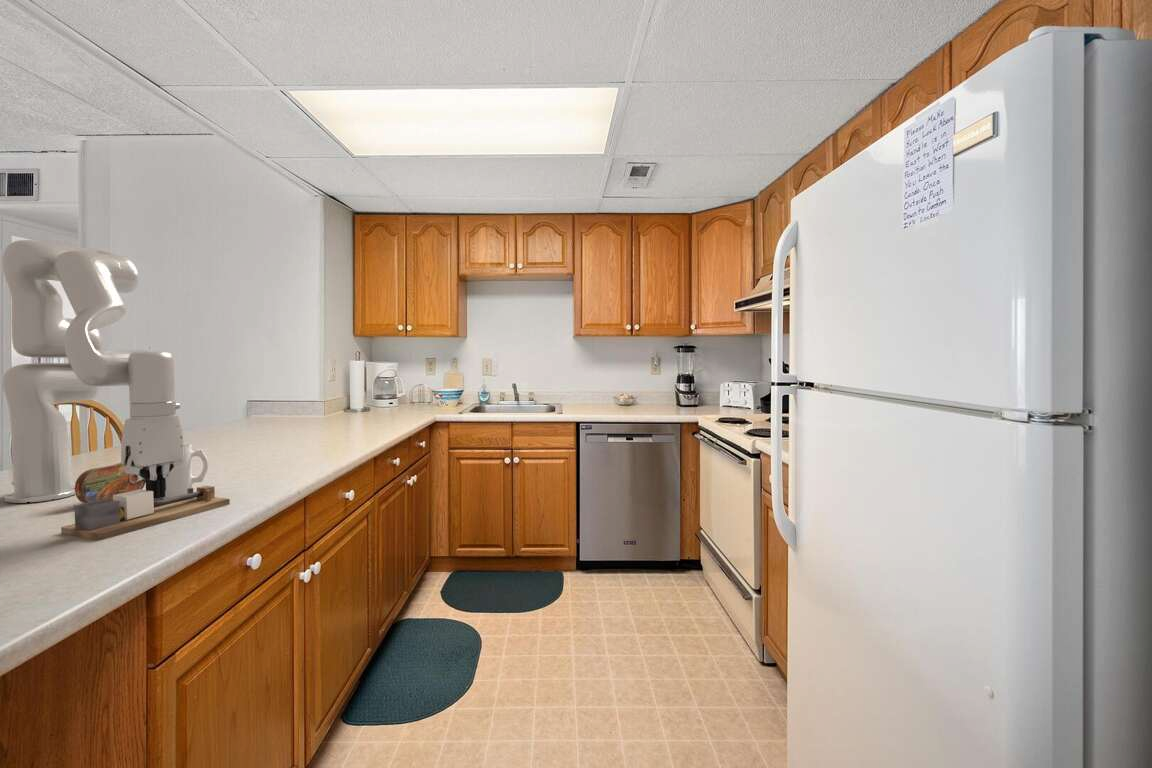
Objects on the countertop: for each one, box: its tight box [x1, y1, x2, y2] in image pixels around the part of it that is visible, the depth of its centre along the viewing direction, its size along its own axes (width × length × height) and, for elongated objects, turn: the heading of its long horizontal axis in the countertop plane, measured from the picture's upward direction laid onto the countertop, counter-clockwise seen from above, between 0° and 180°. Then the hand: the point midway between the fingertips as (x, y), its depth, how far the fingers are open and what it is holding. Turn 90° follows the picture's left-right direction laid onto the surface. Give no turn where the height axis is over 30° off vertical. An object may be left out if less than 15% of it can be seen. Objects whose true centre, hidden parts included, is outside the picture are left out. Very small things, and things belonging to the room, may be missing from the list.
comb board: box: [60, 485, 231, 541], centre depth 116 cm, size 11×26×6 cm, turn 161°
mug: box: [161, 443, 209, 500], centre depth 134 cm, size 10×7×12 cm, turn 118°
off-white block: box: [113, 489, 155, 520], centre depth 112 cm, size 4×5×4 cm
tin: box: [74, 462, 146, 504], centre depth 129 cm, size 15×3×8 cm, turn 170°
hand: (156, 497), depth 116 cm, fingers closed
